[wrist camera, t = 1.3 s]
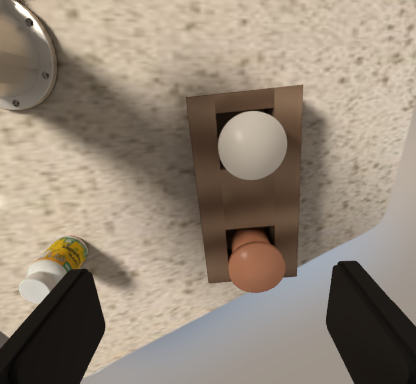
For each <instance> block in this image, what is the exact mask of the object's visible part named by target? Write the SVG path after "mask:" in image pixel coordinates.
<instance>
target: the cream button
mask: <svg viewBox="0 0 416 384" xmlns="http://www.w3.org/2000/svg"><path fill="white" fill-rule="evenodd" d="M286 150H287V137H286V133H285V131H284V129H283V127H282V125H281V124H280V123H279V122H278V120H276V119H275V118H274V117H272V116H271V115H269V114H266V113H263V112H259V111H247V112H243V113H240V114H238V115H236V116H235V117H233V118H232V119H230V120H229V121H228V122H227V123H226V125H225V126H224V127H223V129H222V131H221V133H220V136H219V140H218V151H219V156H220V160H221V162H222V164H223V166H224V167H225V168H226V170H227V171H228V172H230V173H231V174H232V175H234V176H236V177H238V178H240V179H244V180H257V179H261V178H264V177H266V176H268V175H270V174H271V173H273V172H274V171H275V170H276V169H277V168H278V167H279V166H280V164H281V163H282V161H283V159H284V157H285V154H286Z"/></svg>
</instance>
